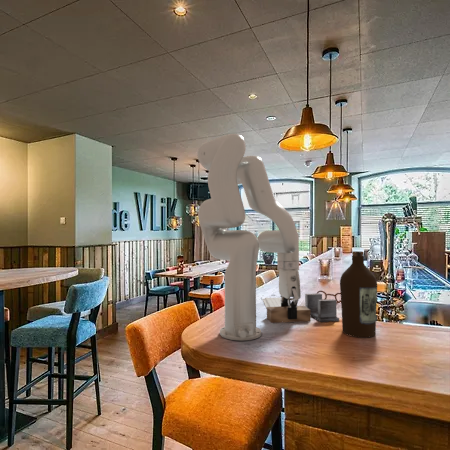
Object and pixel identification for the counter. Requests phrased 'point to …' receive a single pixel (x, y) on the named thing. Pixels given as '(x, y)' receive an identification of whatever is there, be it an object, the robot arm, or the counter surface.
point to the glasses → (330, 295)
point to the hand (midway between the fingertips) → (288, 315)
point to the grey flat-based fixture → (321, 307)
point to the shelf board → (282, 314)
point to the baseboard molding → (272, 302)
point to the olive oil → (358, 299)
